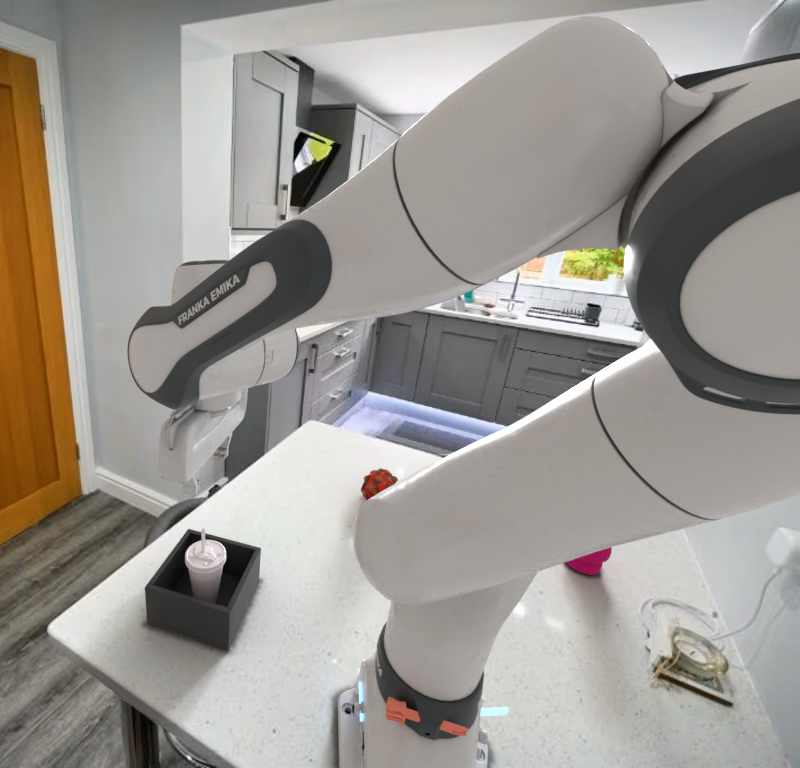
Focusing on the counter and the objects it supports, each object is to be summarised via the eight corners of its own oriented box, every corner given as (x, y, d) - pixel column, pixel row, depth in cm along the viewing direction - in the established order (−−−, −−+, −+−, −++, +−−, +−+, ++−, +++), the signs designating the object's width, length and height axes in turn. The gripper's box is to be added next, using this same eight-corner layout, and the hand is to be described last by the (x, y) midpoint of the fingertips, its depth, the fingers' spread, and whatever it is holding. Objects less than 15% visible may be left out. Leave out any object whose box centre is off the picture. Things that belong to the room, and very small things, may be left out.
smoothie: (206, 577, 76) (206, 512, 71) (233, 597, 72) (235, 529, 67) (177, 601, 71) (175, 532, 66) (204, 623, 68) (204, 552, 62)
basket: (228, 650, 64) (229, 613, 62) (147, 623, 67) (144, 587, 65) (259, 581, 77) (261, 547, 74) (188, 561, 80) (188, 528, 77)
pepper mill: (605, 564, 87) (643, 479, 79) (598, 583, 82) (638, 495, 74) (565, 544, 91) (597, 462, 83) (556, 562, 86) (590, 477, 78)
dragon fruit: (377, 491, 107) (380, 530, 96) (352, 472, 105) (352, 509, 94) (403, 472, 103) (409, 511, 92) (377, 452, 101) (380, 489, 90)
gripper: (192, 422, 47) (193, 525, 53) (255, 365, 66) (252, 445, 71) (141, 412, 49) (147, 513, 54) (217, 359, 67) (216, 438, 72)
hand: (207, 474), depth 63 cm, fingers open, 8 cm apart
